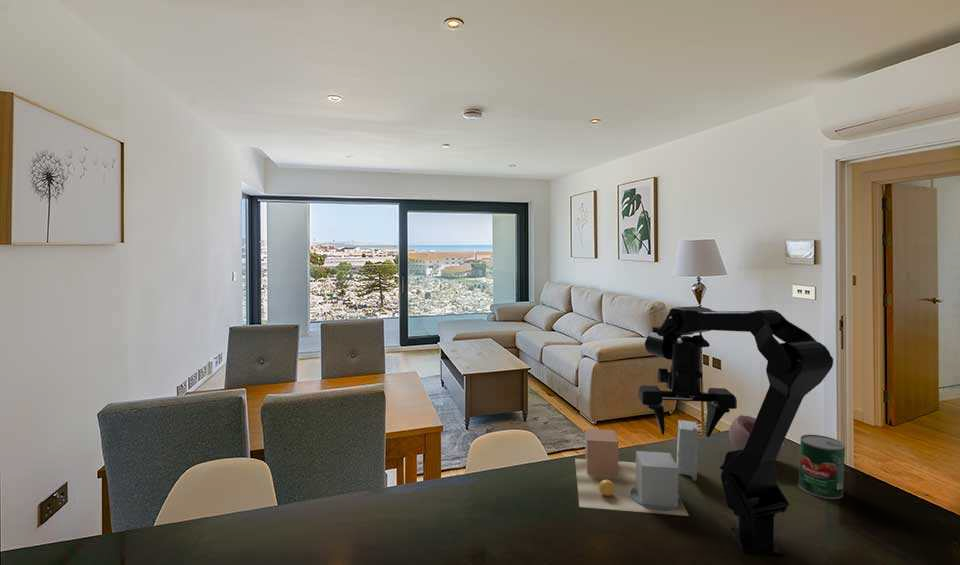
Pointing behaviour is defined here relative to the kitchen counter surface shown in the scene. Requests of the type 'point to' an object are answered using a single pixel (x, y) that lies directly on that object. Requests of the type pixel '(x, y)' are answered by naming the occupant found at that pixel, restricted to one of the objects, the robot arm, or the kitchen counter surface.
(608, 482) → the amber marble
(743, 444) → the mortar and pestle
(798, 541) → the kitchen counter surface
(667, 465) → the pale slate cube
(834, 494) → the canned tomato
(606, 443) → the pink sandstone cube
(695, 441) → the skincare box
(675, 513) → the oak board
